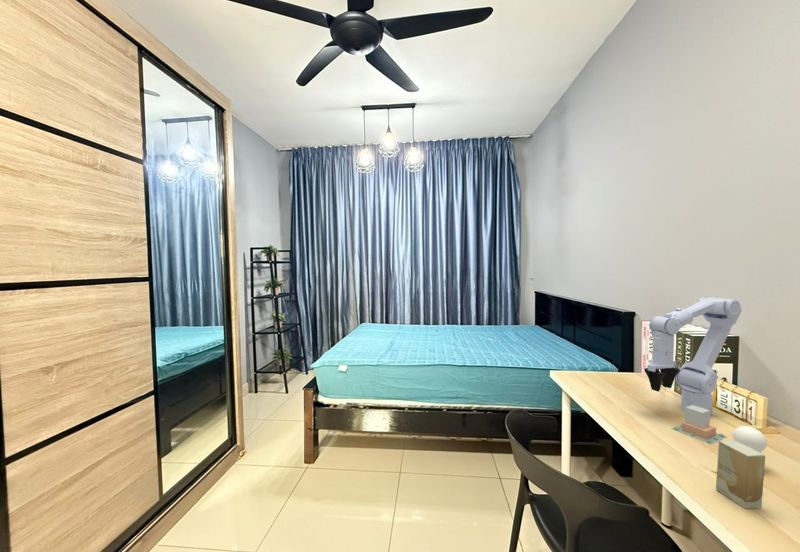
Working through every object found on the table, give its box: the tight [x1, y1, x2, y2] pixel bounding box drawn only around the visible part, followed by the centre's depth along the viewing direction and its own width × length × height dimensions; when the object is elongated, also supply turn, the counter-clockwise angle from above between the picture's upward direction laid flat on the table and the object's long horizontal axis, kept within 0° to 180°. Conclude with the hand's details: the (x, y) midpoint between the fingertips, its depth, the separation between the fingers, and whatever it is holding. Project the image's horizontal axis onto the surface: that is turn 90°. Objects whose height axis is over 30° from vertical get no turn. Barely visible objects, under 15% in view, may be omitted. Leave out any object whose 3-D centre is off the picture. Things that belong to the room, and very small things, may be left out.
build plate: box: [671, 424, 728, 445], centre depth 100 cm, size 10×10×1 cm
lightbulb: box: [732, 425, 768, 454], centre depth 83 cm, size 6×6×11 cm
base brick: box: [681, 421, 717, 439], centre depth 100 cm, size 6×6×2 cm
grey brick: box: [684, 405, 711, 429], centre depth 100 cm, size 4×4×5 cm
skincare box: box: [715, 439, 766, 510], centre depth 72 cm, size 6×4×12 cm
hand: (661, 388), depth 111 cm, fingers open, 7 cm apart
